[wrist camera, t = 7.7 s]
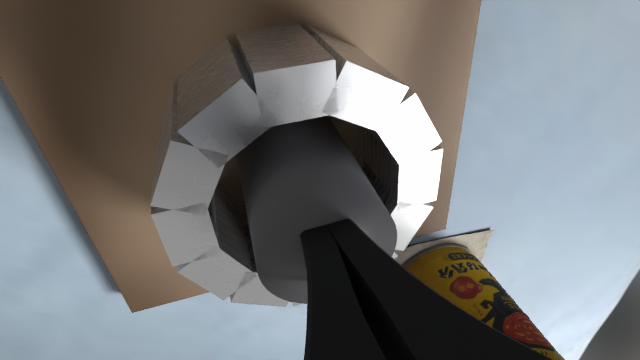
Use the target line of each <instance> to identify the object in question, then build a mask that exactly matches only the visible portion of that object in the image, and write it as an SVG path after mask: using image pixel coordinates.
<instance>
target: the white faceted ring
mask: <svg viewBox="0 0 640 360" xmlns="http://www.w3.org/2000/svg"><path fill="white" fill-rule="evenodd" d="M235 34H236V40H237V45H238V49H237V48H236V47H235V46H234V45H233V43H232V42H231V41H230V40H229V39H228V37H227V36H226V37H225V38H224V39H223V40H222V41H220V42H219V43H218V44H217V45H216V46H214V47H213V48H212V49H211V50H210V51H208V52H207V53H206V54H205V55H204V56H202V57H201V58H200V59H199V60H198V61H196V62H195V63H194V64H193V65H192V66H191V67H189V68H188V69H187V70H186V71H185V72H183V73H182V74H181V75H180V76H179V77H178V86H176V85H173V86H172V89H171V93H170V96H169V100H168V103H167V106H166V110H165V113H164V117H163V120H162V123H161V127H160V130H159V134H158V137H157V144H156V154H155V164H154V174H153V184H152V194H151V204H150V206H151V217H152V219H153V221H154V224H155V226H156V229H157V231H158V233H159V236H160V238H161V241H162V243H163V245H164V248H165V250H166V253H167V255H168V257H169V260H170V262H171V265H172V267H173V266H177V265H178V273H179V274H181V275H183V276H184V277H186V278H188V279H189V280H191V281H193V282H194V283H196V284H198V285H199V286H201V287H203V288H204V289H206V290H208V291H209V292H211V293H213V294H214V295H216V296H218V297H219V298H221V299H222V300H224V299H226V298H227V297H229V296H230V298H231V302H233V303H245V304H258V305H270V306H283V307H286V305H287V303H288V301H286V300H283V299H281V298H278V297H276V296H275V295H273V294H272V293H270V292H269V291H268V290H267V289H266V288H265V287H264V286H263V284H262V283H261V281H260V279H259V277H258V273H257V269H256V263H255V258H254V252H253V246H252V241H251V235H250V229H249V224H248V218H247V213H246V207H245V203H240V202H238V201H237V200H236V199H234V198H233V197H232V196H231V195H230V194H228V193H227V192H226V191H225V190H224V189H223V188H221V187H220V186H219V185H218V181H219V178H220V176H221V173H222V171H223V168H224V165H225V163H226V162H227V161H228V160H230V159H231V158H232V157H233V156H235V155H236V154H237V153H239V152H240V151H241V150H242V149H244V148H245V147H246V146H248V145H249V144H250V143H251V142H253V141H254V140H255V139H256V138H258V137H259V136H260V135H262V134H263V133H264V132H265V131H267V130H268V129H269V128H270V127H272V126H277V125H282V124H287V123H292V122H297V121H302V120H307V119H313V118H318V117H323V116H328V115H330V116H333V117H336V118H339V119H342V120H345V121H348V122H351V123H354V124H355V130H356V149H355V151H354V153H353V156H354V158H355V159H356V161H357V162H358V164H359V166H360V167H361V169H362V170H363V172H364V174H365V175H366V177H367V178H368V180H369V182H370V183H371V185H372V186H373V188H374V190H375V191H376V193H377V194H378V196H379V198H380V199H381V201H382V202H383V204H384V206H385V207H386V209H387V210H388V212H389V214H390V215H391V217H392V218H393V220H394V222H395V225H396V229H397V243H396V247H395V249H396V250H401V251H404V250H405V248H406V247H407V245H408V244H409V242H410V241H411V239H412V238H413V236H414V235H415V233H416V232H417V231H418V229H419V228H420V226H421V225H422V223H423V222H424V220H425V219H426V217H427V216H428V214H429V213H430V212H431V210H432V209H433V206H432V205H431V204H430V202H431V201H435V200H436V199H437V191H438V183H439V176H440V168H441V160H442V153H443V149H442V148H441V147H440V146H439V145H438V144H439V143H440V142H442V141H441V139H440V137H439V135H438V134H437V132H436V130H435V128H434V126H433V124H432V123H431V121H430V119H429V117H428V115H427V113H426V112H425V110H424V108H423V106H422V104H421V102H420V101H419V99H418V97H417V95H416V93H415V92H413V91H412V90H411V89H409V87H408V86H407V85H405V84H404V83H403V82H402V81H400V80H399V79H398V78H396V77H395V76H394V75H393V74H391V73H390V72H389V71H387V70H386V69H385V68H384V67H382V66H381V65H380V64H378V63H377V62H376V61H375V60H373V59H372V58H371V57H369V56H368V55H367V54H366V53H364V52H363V51H362V50H360V49H359V48H358V47H356V46H353V45H351V44H349V43H347V42H344V41H342V40H340V39H338V38H336V37H333V36H331V35H329V34H327V33H325V32H322V31H320V30H318V29H316V28H313V27H311V26H309V25H306V28H305V29H303V28H302V27H301V26H300V25H299V24H298V23H297V24H290V25H283V26H276V27H270V28H263V29H256V30H249V31H242V32H235ZM238 50H239V51H238ZM396 257H398V255H397V254H396V252H395V251H394V253H393V255H392V258H393V259H395V258H396ZM292 303H293V306H295V305H298V304H302V303H295V302H292Z"/></svg>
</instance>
